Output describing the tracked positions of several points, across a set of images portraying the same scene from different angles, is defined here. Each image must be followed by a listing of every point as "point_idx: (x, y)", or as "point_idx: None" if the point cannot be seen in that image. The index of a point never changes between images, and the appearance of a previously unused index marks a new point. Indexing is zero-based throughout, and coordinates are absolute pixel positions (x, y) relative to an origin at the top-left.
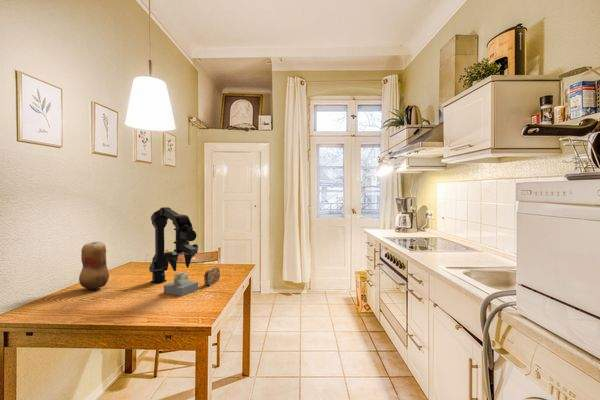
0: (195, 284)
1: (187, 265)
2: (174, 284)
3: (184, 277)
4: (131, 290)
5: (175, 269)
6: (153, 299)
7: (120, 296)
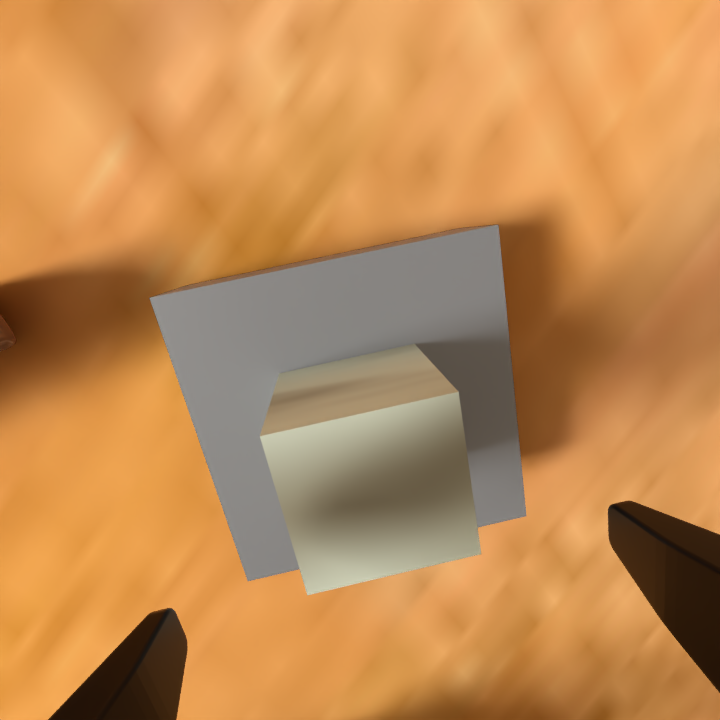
0: (216, 283)
1: (157, 673)
2: None
3: (368, 391)
4: (571, 702)
5: (670, 520)
6: (667, 369)
7: None
